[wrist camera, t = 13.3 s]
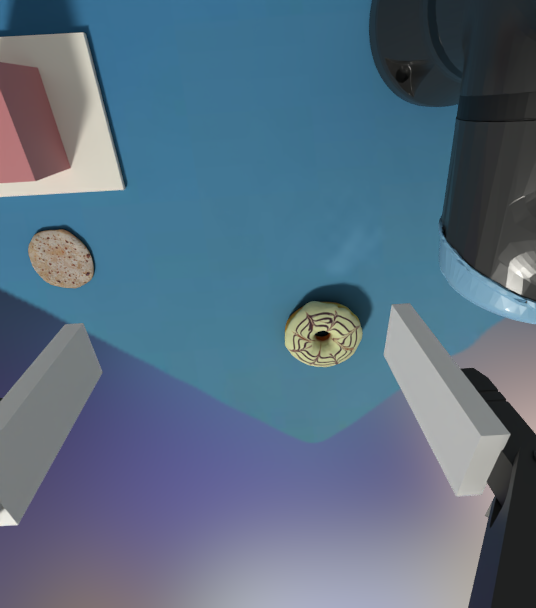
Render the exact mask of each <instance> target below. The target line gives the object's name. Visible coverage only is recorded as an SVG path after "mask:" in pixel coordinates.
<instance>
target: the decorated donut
mask: <svg viewBox="0 0 536 608" xmlns="http://www.w3.org/2000/svg"><path fill="white" fill-rule="evenodd" d="M319 331H326V332H328V333H329V334H328V335H326V336H323V337H320V336H316V335H315V333H317V332H319ZM361 339H362V328H361V325H360V321H359V319H358V317H357V316H356V315H355V314H353V313H352V312H351V310H350V309H348V308H347V307H346V306H344V305H341V304H338V303H334V302H318V301H312V302H309V303H307V304H306V305H304V306H303V307H301V308H300V309H298V310H296V311H295V312H294V313H293V314H292V315H291V316H290V318H289V319H288V320H287V323H286V327H285V346H286V347H287V349H288V350H289V351H290V353H291V354H292V355H293V356H294V357H295V358H297V359H298V360H300V361H301V362H303V363H305V364H308V365H310V366H317V367H329V366H333V365H336V364H339V363H341V362H343V361H345V360H347V359H348V358H349V357H350V356H351V355H353V354H354V352H355V350H356V349H357V347H358V345H359V343H360V341H361Z"/></svg>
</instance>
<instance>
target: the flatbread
mask: <svg viewBox="0 0 536 608" xmlns="http://www.w3.org/2000/svg"><path fill="white" fill-rule="evenodd" d="M28 252H29V257H30V260H31V263H32V266H33V268H34V269H35V271H36V272H37V273H38V274H39V275H40V276H41V277H42V278H43V279H44V280H45V281H46V282H48V283H49V284H51V285H55V286H59V287H65V288H77V287H80V286H82V285H84V284H85V283H87V282H89V281H90V280H91V279H92V277H93V273H94V265H93V260H92V257H91V254H90V252H89V250H88V249H87V247H86V246H85V245H84V244H83V243H82V242H81V241H80V240H79V239H78V238H76V237H75V236H74V235H73V234H71V233H70V232H68V231H66V230H63V229H60V230H46V231H41V232H39V233H37V234H35V235H34V236H33V238H32V240H31V242H30V244H29V250H28Z"/></svg>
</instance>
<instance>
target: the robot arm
mask: <svg viewBox="0 0 536 608" xmlns="http://www.w3.org/2000/svg"><path fill="white" fill-rule="evenodd" d="M369 35H370V45H371V51H372V55H373V59H374V62H375V65H376V68H377V70H378V72H379V74H380V76H381V78H382V79H383V81H384V82H385V84H386V85H387V86H388V87H389V88H390V89H391V91H393V92H394V93H395V94H396V95H397V96H399V97H400V98H402V99H403V100H405V101H407V102H409V103H412V104H415V105H419V106H428V107H444V106H451V105H456V104H458V112H457V117H456V123H455V131H454V138H453V145H452V152H451V159H450V166H449V173H448V179H447V186H446V193H445V200H444V206H443V213H442V216H441V218H440V220H439V234H440V248H439V265H440V269H441V272H442V273H443V274H444V275H445V277H446V279H447V281H448V283H449V284H450V285H451V286H452V287H453V288H454V289H455V290H456V291H457V292H458V293H459V294H460V295H462V296H463V297H465V298H466V299H467V300H469V301H471V302H472V303H474V304H476V305H478V306H479V307H481V308H484V309H486V310H488V311H490V312H493V313H495V314H498V315H500V316H503V317H506V318H510V319H513V320H517V321H521V322H526V323H530V324H536V0H372V4H371V10H370V21H369ZM384 356H385V358H386V360H387V362H388V364H389V366H390V368H391V370H392V372H393V374H394V376H395V378H396V380H397V382H398V384H399V386H400V388H401V390H402V392H403V393H404V395H405V397H406V399H407V401H408V403H409V405H410V407H411V409H412V411H413V413H414V415H415V417H416V419H417V421H418V423H419V425H420V427H421V429H422V431H423V432H424V434H425V436H426V438H427V440H428V442H429V444H430V446H431V448H432V450H433V452H434V454H435V456H436V458H437V460H438V462H439V464H440V466H441V468H442V470H443V471H444V474H445V476H446V477H447V479H448V481H449V483H450V485H451V487H452V489H453V491H454V493H455V495H456V496H471V495H482V493H483V491H484V489H485V486H486V485H487V483H488V485H489V486H490V488H491V490H492V491H493V493H494V495H495V497H494V499H493V501H492V503H491V505H490V507H489V509H488V511H487V513H486V515H485V516H486V517H488V523H487V527H486V532H485V536H484V540H483V545H482V549H481V553H480V558H479V562H478V567H477V571H476V576H475V580H474V585H473V589H472V593H471V598H470V602H469V606H468V608H536V434H535V433H534V432H533V431H532V429H531V428H530V427H529V426H528V425H527V423H526V422H525V421H524V420H523V419H522V418H521V416H520V415H519V414H518V413H517V412H516V410H515V409H514V408H513V407H512V406H511V405H510V403H509V402H506V399H505V397H504V396H503V395H502V394H501V393H500V392H498V389H497V388H496V387H495V386H494V384H493V383H492V382H491V381H490V380H489V379H488V378H487V377H486V376H485V375H483V374H482V373H480V372H479V371H477V370H476V369H474V368H465V369H460V368H459V367H458V365H457V364H456V363H455V361H454V360H453V359H452V358H451V356H450V355H449V354H448V352H447V351H446V350H445V348H444V347H443V346H442V345H441V343H440V342H439V341H438V339H437V338H436V337H435V335H434V334H433V333H432V332H431V330H430V329H429V328H428V326H427V325H426V324H425V322H424V321H423V320H422V319H421V317H420V316H419V315H418V313H417V312H416V311H415V309H414V308H413V307H412V306H411V304H410V303H409V304H392V307H391V313H390V320H389V326H388V332H387V338H386V344H385V350H384ZM101 374H102V370H101V367H100V365H99V362H98V360H97V357H96V354H95V352H94V350H93V347H92V345H91V342H90V339H89V337H88V334H87V332H86V329H85V327H84V324H83V323H79V324H65V325H64V326H63V327H62V329H61V330H60V331H59V332H58V333H57V335H56V336H55V337H54V338H53V339H52V341H51V342H50V343H49V344H48V345H47V346H46V348H45V349H44V350H43V351H42V353H41V354H40V355H39V356H38V357H37V359H36V360H35V361H34V362H33V363H32V365H31V366H30V367H29V368H28V369H27V370H26V371H25V373H24V374H23V375H22V376H21V378H20V379H19V380H18V381H17V382H16V383H15V385H14V386H13V387H12V388H11V389H10V391H9V392H8V393H7V394H6V395H5V396H4V398H0V526H8V525H18V524H19V522H20V520H21V519H22V517H23V515H24V513H25V512H26V510H27V508H28V506H29V504H30V502H31V501H32V499H33V497H34V495H35V493H36V491H37V490H38V488H39V486H40V484H41V482H42V481H43V479H44V477H45V475H46V473H47V472H48V470H49V468H50V466H51V464H52V463H53V461H54V459H55V457H56V456H57V454H58V452H59V450H60V448H61V447H62V445H63V443H64V441H65V439H66V437H67V436H68V434H69V432H70V430H71V428H72V427H73V425H74V423H75V421H76V419H77V418H78V416H79V414H80V412H81V410H82V409H83V407H84V405H85V403H86V401H87V400H88V398H89V396H90V394H91V392H92V390H93V389H94V387H95V385H96V383H97V382H98V380H99V378H100V376H101Z"/></svg>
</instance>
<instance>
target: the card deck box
mask: <svg viewBox="0 0 536 608" xmlns="http://www.w3.org/2000/svg"><path fill="white" fill-rule="evenodd" d="M70 168H71V167H70V164H69V161H68V158H67V155H66V152H65V149H64V146H63V143H62V140H61V137H60V134H59V131H58V127H57V124H56V121H55V118H54V115H53V112H52V109H51V106H50V103H49V100H48V97H47V94H46V91H45V88H44V85H43V82H42V79H41V76H40V73H39V70H38V68H37V67H30V66H24V65H17V64H10V63H4V62H0V183H15V182H31V181H37V180H40V179H43V178H46V177H48V176H51V175H54V174H56V173H59V172H62V171H64V170H67V169H70Z"/></svg>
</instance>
